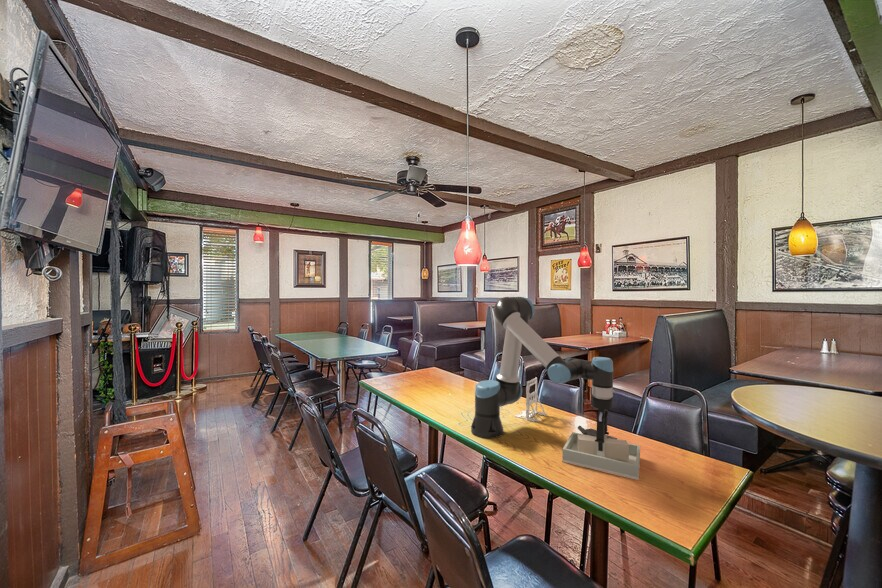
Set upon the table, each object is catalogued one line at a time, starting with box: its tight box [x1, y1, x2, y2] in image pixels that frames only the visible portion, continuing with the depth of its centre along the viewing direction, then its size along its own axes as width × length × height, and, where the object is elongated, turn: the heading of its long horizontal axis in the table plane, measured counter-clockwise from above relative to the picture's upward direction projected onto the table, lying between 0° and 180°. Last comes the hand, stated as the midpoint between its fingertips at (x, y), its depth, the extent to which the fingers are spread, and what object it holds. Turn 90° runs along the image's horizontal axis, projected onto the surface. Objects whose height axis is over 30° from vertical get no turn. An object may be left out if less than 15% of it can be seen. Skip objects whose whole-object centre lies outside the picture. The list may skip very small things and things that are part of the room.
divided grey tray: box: [561, 431, 641, 481], centre depth 140 cm, size 26×20×5 cm
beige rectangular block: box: [577, 435, 629, 461], centre depth 140 cm, size 18×5×6 cm, turn 73°
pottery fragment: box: [577, 425, 618, 439], centre depth 161 cm, size 15×12×4 cm
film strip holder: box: [514, 376, 548, 423], centre depth 190 cm, size 14×14×20 cm
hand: (601, 454), depth 140 cm, fingers open, 7 cm apart
